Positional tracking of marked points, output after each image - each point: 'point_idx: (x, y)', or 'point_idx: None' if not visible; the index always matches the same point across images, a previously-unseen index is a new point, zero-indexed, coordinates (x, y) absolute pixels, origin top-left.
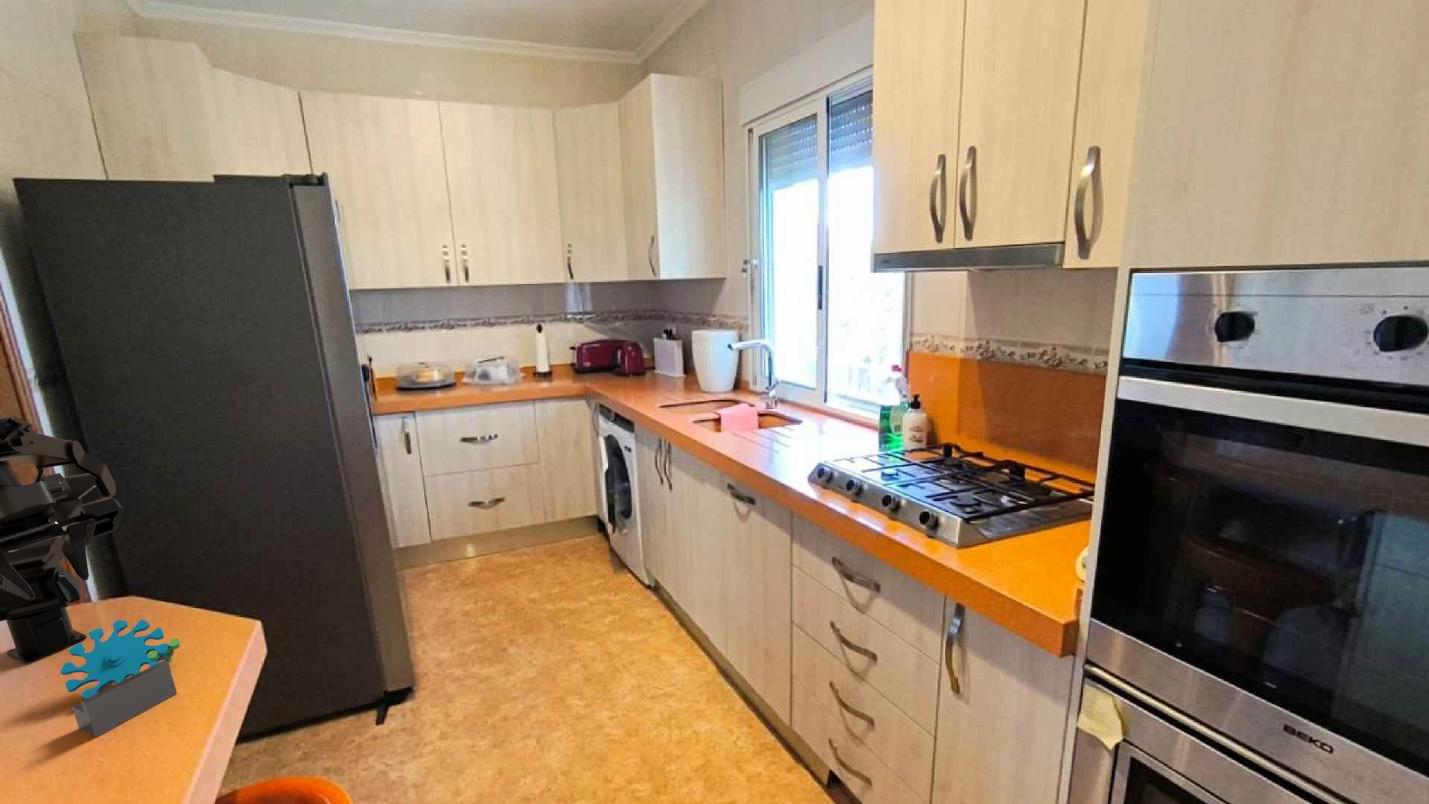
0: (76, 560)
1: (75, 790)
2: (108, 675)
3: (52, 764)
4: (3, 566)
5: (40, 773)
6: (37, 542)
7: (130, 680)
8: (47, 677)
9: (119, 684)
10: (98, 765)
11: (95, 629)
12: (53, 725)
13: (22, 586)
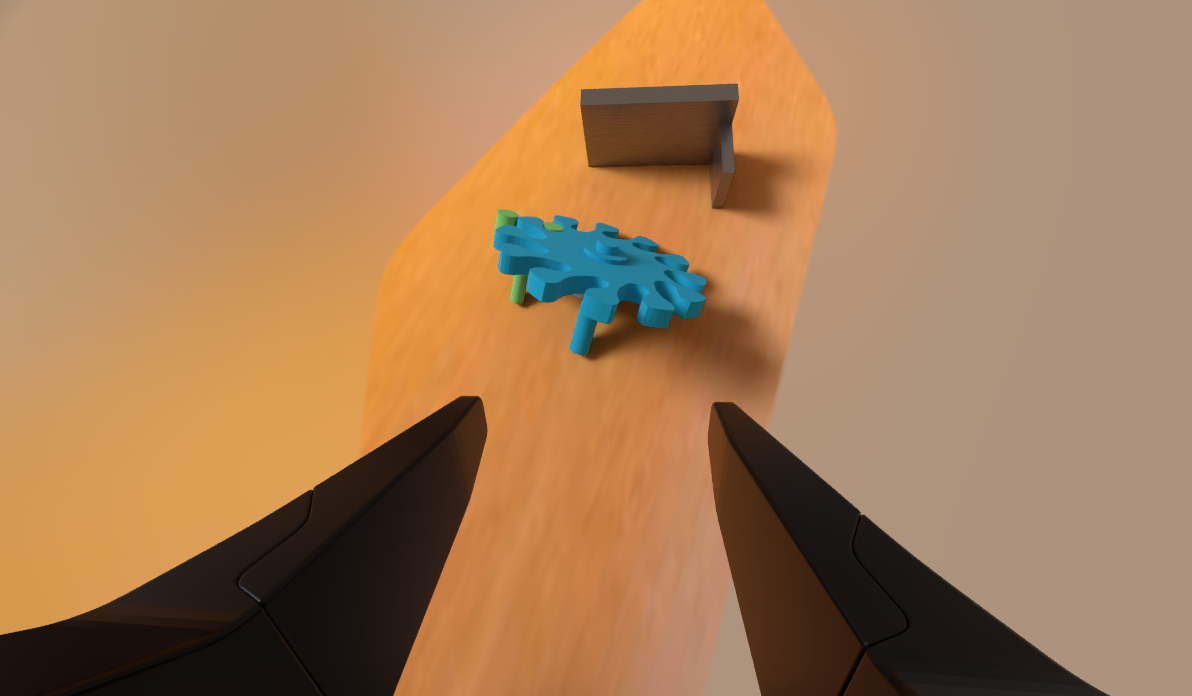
0: (414, 474)
1: (788, 44)
2: (636, 252)
3: (785, 140)
4: (924, 631)
5: (803, 133)
6: None
7: (653, 88)
8: (665, 546)
9: (671, 95)
10: (748, 72)
11: (596, 301)
12: (741, 271)
13: (762, 443)
